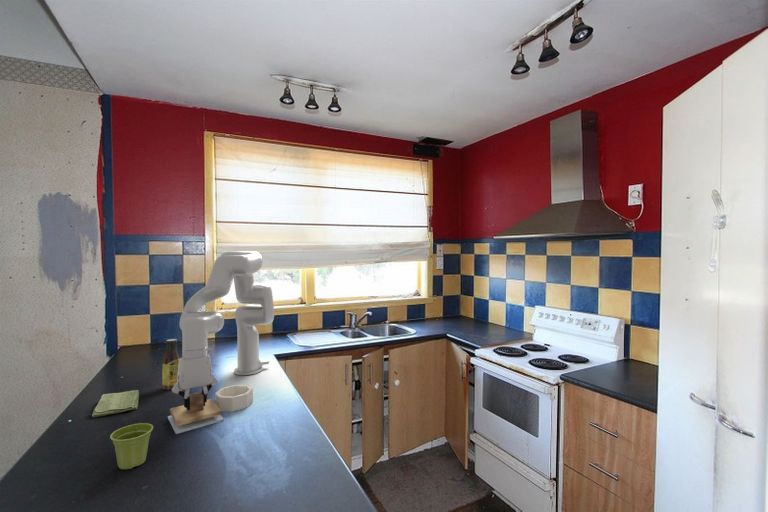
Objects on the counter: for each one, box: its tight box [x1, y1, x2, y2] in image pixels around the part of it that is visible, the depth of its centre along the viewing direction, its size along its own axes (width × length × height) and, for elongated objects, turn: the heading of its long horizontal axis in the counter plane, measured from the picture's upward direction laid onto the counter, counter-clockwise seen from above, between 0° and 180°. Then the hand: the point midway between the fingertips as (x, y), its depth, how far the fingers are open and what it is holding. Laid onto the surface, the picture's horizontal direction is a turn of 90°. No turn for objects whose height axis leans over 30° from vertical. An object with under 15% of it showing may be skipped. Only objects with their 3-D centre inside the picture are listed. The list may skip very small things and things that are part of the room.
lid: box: [169, 391, 222, 426], centre depth 122 cm, size 13×13×6 cm
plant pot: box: [109, 422, 154, 470], centre depth 97 cm, size 9×9×9 cm
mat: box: [167, 414, 224, 435], centre depth 122 cm, size 14×14×1 cm
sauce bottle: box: [161, 338, 181, 391], centre depth 150 cm, size 7×6×20 cm
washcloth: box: [91, 389, 140, 418], centre depth 133 cm, size 13×18×3 cm
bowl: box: [214, 384, 254, 413], centre depth 134 cm, size 12×12×5 cm
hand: (195, 406), depth 122 cm, fingers closed on lid, 4 cm apart
